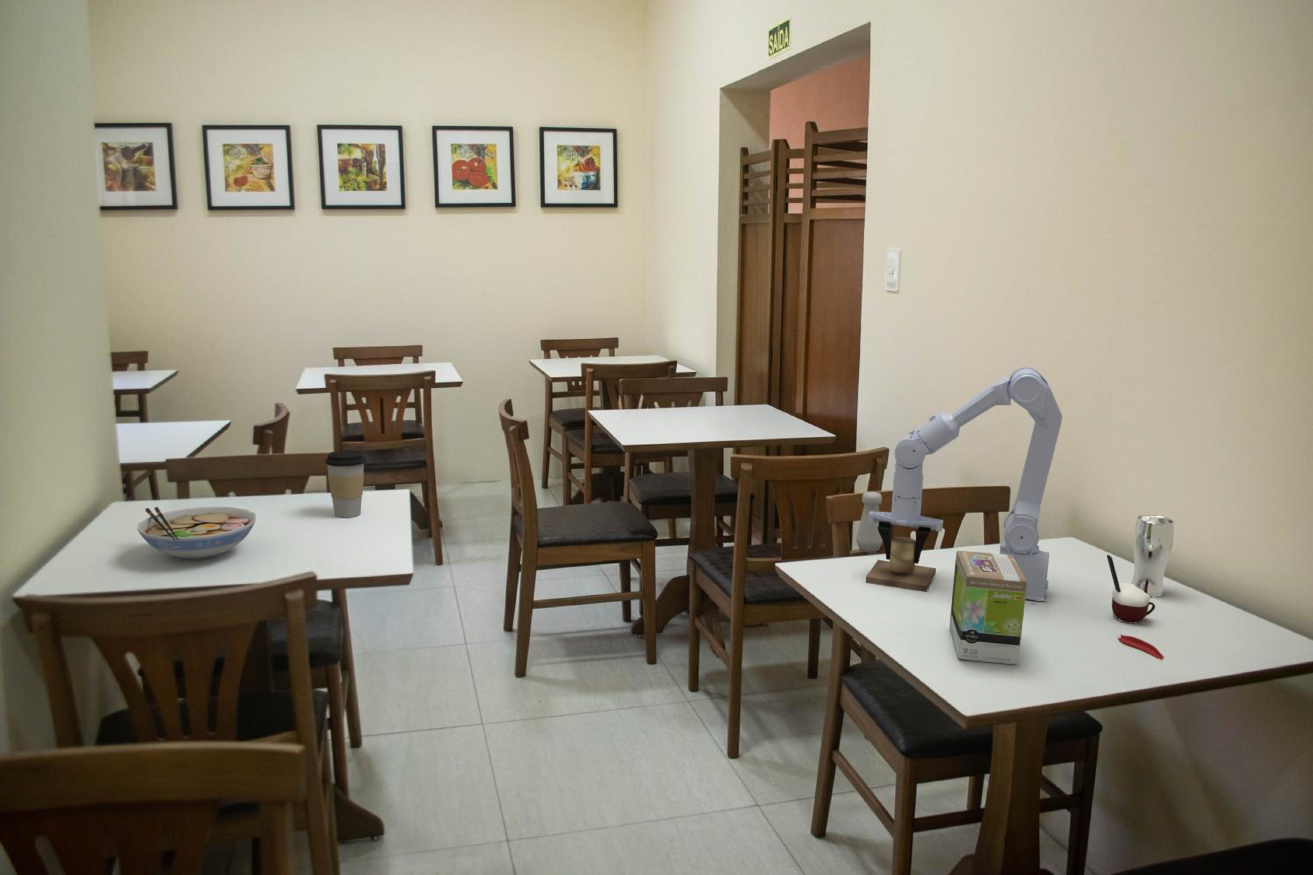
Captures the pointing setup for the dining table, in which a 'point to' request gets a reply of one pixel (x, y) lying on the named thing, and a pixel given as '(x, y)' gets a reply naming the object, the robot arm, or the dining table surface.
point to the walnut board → (901, 576)
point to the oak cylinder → (902, 554)
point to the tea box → (987, 607)
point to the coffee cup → (346, 481)
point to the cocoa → (1128, 599)
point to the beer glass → (1151, 552)
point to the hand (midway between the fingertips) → (902, 560)
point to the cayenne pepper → (1141, 646)
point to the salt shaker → (869, 524)
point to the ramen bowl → (196, 530)
